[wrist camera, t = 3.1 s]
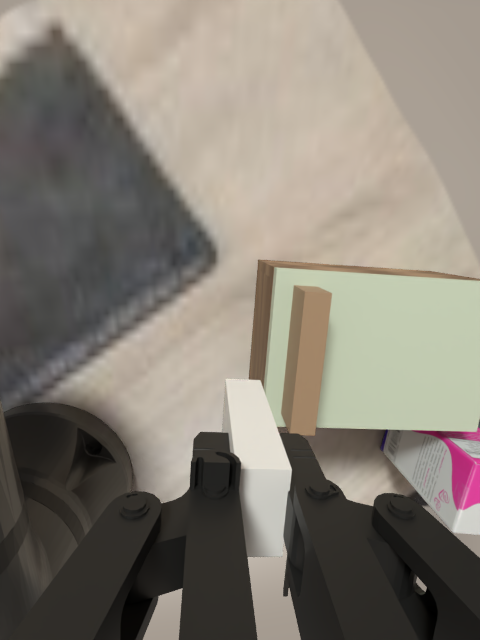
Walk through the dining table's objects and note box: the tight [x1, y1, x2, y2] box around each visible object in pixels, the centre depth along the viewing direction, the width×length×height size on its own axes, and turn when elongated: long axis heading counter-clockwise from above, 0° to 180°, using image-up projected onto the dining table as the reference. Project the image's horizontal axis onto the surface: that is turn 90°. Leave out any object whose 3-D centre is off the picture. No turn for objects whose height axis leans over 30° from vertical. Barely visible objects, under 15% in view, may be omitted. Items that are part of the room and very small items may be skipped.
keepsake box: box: [249, 260, 480, 389], centre depth 32 cm, size 16×11×8 cm
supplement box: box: [380, 428, 480, 535], centre depth 33 cm, size 6×6×12 cm
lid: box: [264, 267, 480, 436], centre depth 26 cm, size 16×11×4 cm
